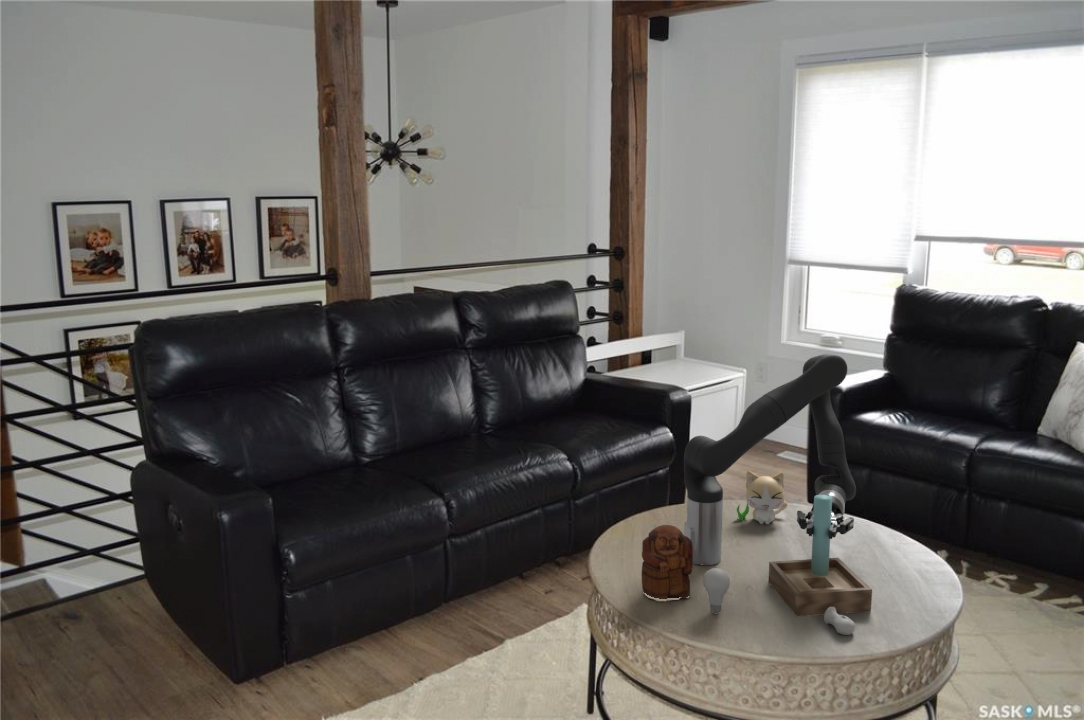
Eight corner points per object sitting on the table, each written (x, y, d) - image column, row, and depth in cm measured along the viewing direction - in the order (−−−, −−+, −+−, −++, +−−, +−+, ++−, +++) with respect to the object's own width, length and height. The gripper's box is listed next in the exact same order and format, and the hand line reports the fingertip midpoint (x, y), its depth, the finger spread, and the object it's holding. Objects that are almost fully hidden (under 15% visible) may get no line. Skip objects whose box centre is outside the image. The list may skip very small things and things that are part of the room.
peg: (815, 576, 211) (818, 501, 207) (808, 569, 215) (811, 495, 211) (831, 575, 212) (834, 500, 208) (824, 568, 216) (827, 494, 212)
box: (796, 616, 205) (797, 594, 204) (768, 582, 222) (769, 561, 221) (870, 611, 207) (872, 589, 206) (837, 578, 224) (838, 557, 223)
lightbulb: (730, 609, 209) (731, 565, 206) (727, 621, 203) (728, 576, 201) (704, 605, 211) (705, 562, 208) (700, 617, 205) (701, 572, 203)
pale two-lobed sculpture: (856, 641, 196) (837, 638, 194) (836, 623, 203) (818, 620, 202) (863, 623, 195) (844, 620, 194) (843, 606, 203) (824, 603, 201)
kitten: (737, 525, 259) (738, 476, 256) (735, 513, 269) (737, 466, 266) (789, 528, 257) (792, 479, 254) (786, 515, 266) (788, 468, 263)
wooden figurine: (646, 604, 212) (647, 533, 208) (640, 592, 218) (640, 523, 214) (694, 600, 213) (696, 530, 210) (686, 588, 219) (688, 520, 216)
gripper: (799, 491, 226) (789, 514, 211) (858, 498, 220) (853, 522, 205) (798, 519, 228) (788, 544, 212) (857, 526, 222) (851, 553, 207)
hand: (820, 533), depth 209 cm, fingers closed on peg, 4 cm apart
